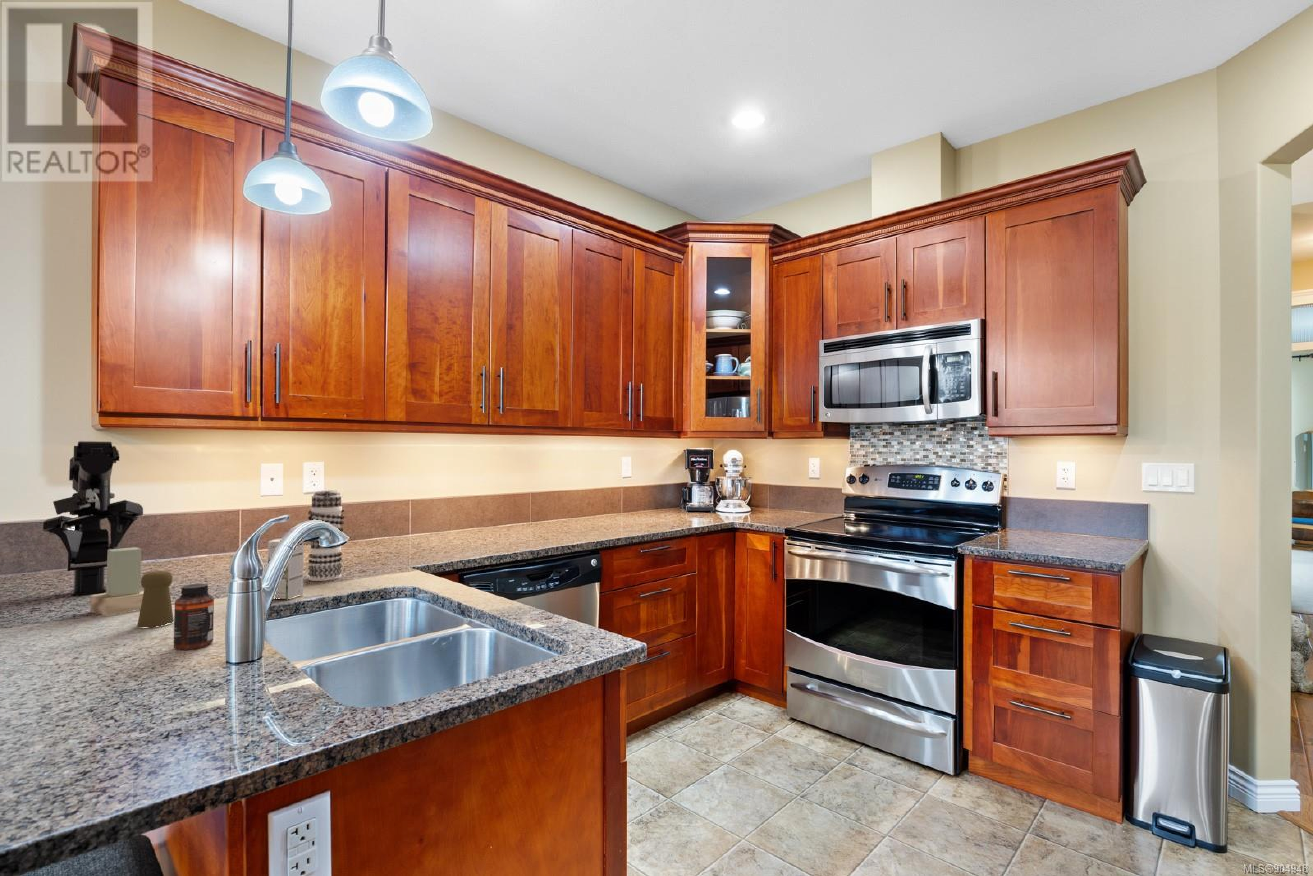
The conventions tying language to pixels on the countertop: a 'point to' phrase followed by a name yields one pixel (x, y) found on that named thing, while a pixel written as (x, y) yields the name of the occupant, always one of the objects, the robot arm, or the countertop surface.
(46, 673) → the countertop surface
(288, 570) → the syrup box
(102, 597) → the maple block
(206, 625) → the supplement bottle
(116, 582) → the sage block
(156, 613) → the cork
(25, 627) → the countertop surface
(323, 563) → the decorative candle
